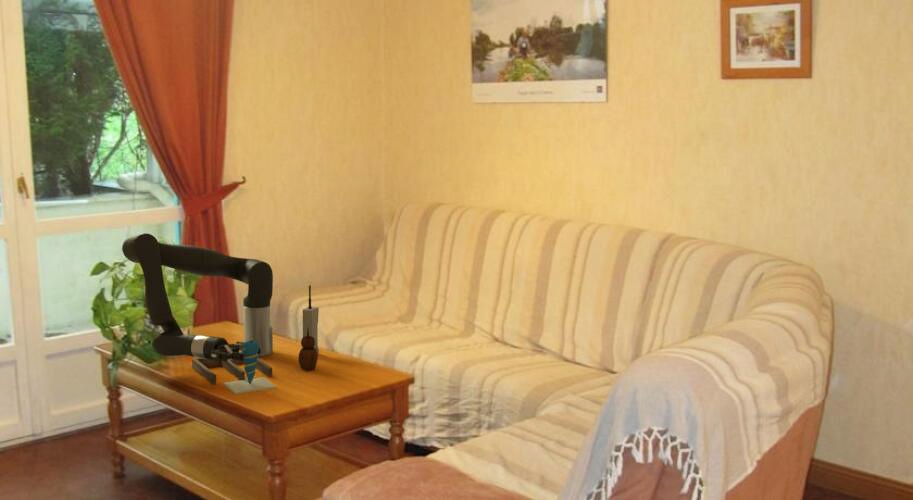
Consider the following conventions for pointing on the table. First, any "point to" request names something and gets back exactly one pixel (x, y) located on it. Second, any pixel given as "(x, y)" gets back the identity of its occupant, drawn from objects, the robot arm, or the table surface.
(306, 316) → the vintage mobile phone
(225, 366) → the lane rack
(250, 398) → the table surface
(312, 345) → the wooden figurine
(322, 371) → the table surface
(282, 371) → the table surface
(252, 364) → the ornament
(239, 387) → the pad
